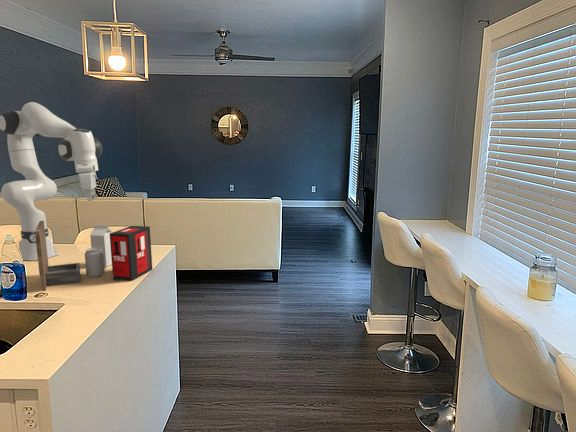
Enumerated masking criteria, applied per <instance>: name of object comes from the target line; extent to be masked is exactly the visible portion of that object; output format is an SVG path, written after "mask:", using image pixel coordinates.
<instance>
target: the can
mask: <svg viewBox="0 0 576 432" xmlns="http://www.w3.org/2000/svg"><path fill="white" fill-rule="evenodd" d="M84 260H85V261H84V262H85V271H86V275H87V276H88V278H99V277H100V278H101V277H103V275H105V274H106V267H105V266H104V254H103V251H102V250H101V248H99V247H95V248H91V247H90V248H89V247H88V248H86V250H85V253H84Z"/></svg>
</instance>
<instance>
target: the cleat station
mask: <svg viewBox="0 0 576 432" xmlns="http://www.w3.org/2000/svg"><path fill="white" fill-rule="evenodd" d="M35 238H36V247H37V256H38V260H37V263H38V271H39V281H40V282H39V283H40V291H41V292H46V290H47V287H52V286H54V287H55V286H60V285H61V286H62V285H68V284H69V285H70V284H77V283H81V269H80V268H81V267H80V266H81V265H80V262H75V263H66V264H65V263H64V264H57V265H49V258H48V256H47V246H46V237H45V227H44V221H40V222H39V224H38V226H37V228H36V230H35Z"/></svg>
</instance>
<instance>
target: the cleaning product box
mask: <svg viewBox="0 0 576 432" xmlns="http://www.w3.org/2000/svg"><path fill="white" fill-rule="evenodd" d="M112 232H113V233H110V246H111V258H112V264H111V268H112V269H111V271H112V279H113V281H124V280H125V281H126V282H127V281H128V282H133V281H135V280H136V279H138V278H140V277H142V276H143V275H146V274H147V273H149V272H151V271H153V256H152V242H151V241H152V240H151V227H150V226H146V225H130V226H127V227H125V228H124V227H123V228H122V229H119V230H116V231H112Z"/></svg>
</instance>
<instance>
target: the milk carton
mask: <svg viewBox="0 0 576 432" xmlns="http://www.w3.org/2000/svg"><path fill="white" fill-rule="evenodd" d="M113 232H114V231H112V230H111V229H110V228H109V225H105V224H103V225H102V224H100V225H99V224H94V225H93V229H92V231H91V232H90V235H89V236H90V246H91V247H90V248H95V247H99V248H101V250H102V251H103V254H104V266H105V268H108V267H109V266H112V258H111V246H110V233H113Z"/></svg>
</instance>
